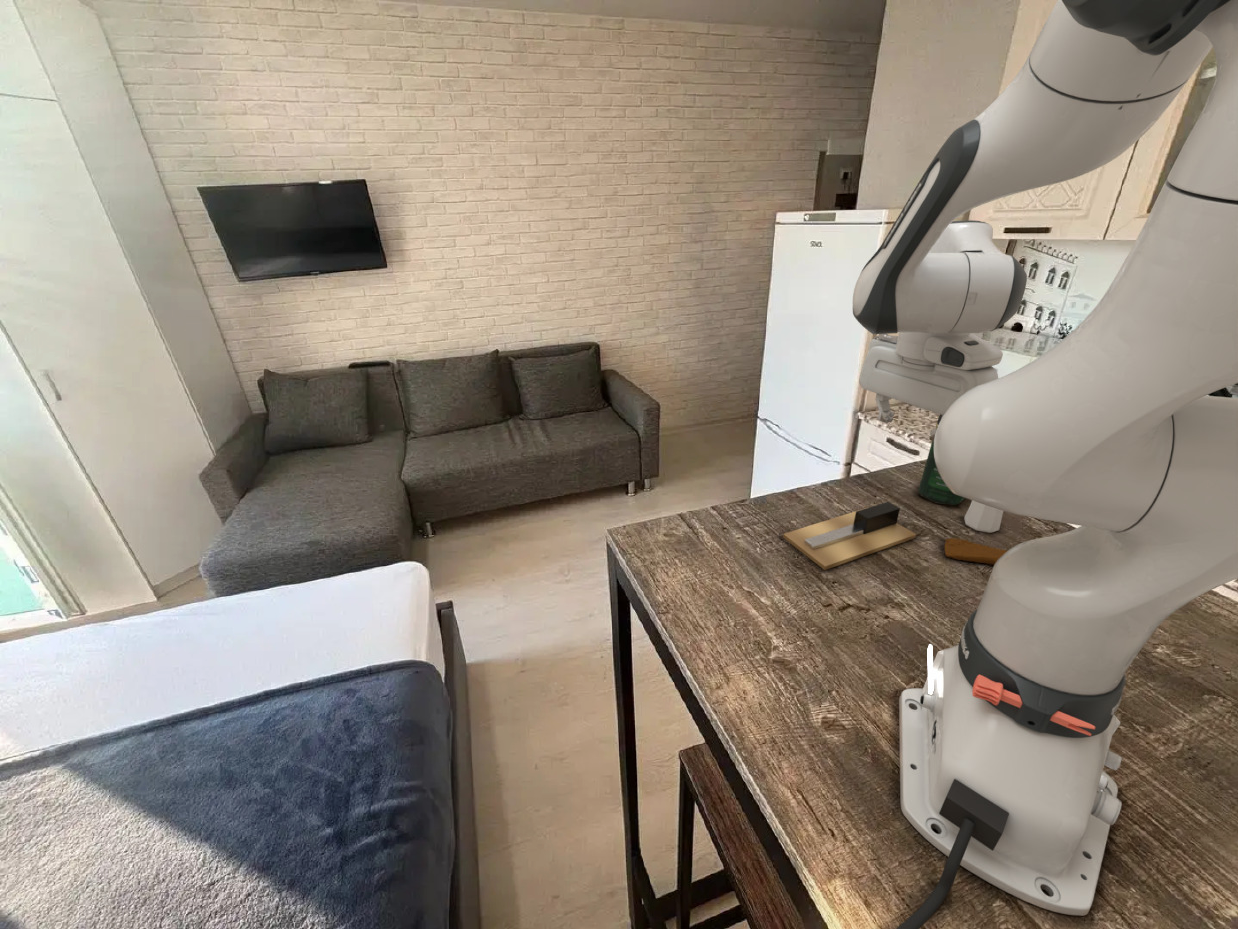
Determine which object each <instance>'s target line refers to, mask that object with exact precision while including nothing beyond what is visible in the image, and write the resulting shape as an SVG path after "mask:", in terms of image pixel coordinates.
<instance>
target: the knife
mask: <svg viewBox="0 0 1238 929" xmlns="http://www.w3.org/2000/svg"><path fill="white" fill-rule="evenodd" d="M868 507H869V508H868ZM868 507H865V508H866V509H864V508H862V509H863V510H861V509H858V510H859V511H858V510H855V511H856V514H855V519H854V524H852V525H849V526H846V527H843V528H840V529H836V530H833V531H830V532H827V533H824V534H821V535H817V536H814V537H811V538H808V539H805V540H804V544H806V545H807V546H808V547H809V548H811V549H812V550H815V549H818V548H821V547H824V546H827V545H830V544H833V543H836V542H839V541H842V540H845V539H848V538H852V537H855V536H858V535H861V534H867V533H870V532H873V531H876V530H879V529H882V528H885V527H888V526H891V525H894V524H896V523H898V519H899V515H900V511H901V508H900V507H898V506H896V505H895V504H893V503H891V502H889V501H886V502H883V503H879V504H876V505H873V506H868Z"/></svg>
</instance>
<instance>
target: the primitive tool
mask: <svg viewBox="0 0 1238 929" xmlns="http://www.w3.org/2000/svg"><path fill="white" fill-rule="evenodd" d="M1007 551H1008V550H1006V549H1002V548H997V547H992V546H988V545H984V544H981V543H975V542H971V541H969V540H967V539H959V538H954V537H953V538H952V537H951V538H946V539H945V541H944V554H945V556H946V557H947V558H951V559H953V560H959V561H965V562H966V561H967V562H972V563H980V564H981V563H982V564H987V565H993V566H994V565H995V563H996V562H997V560H998V559H999V558H1000V557H1001V556H1002V555H1003V554H1005V553H1006V552H1007Z"/></svg>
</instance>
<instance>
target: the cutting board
mask: <svg viewBox="0 0 1238 929" xmlns="http://www.w3.org/2000/svg"><path fill="white" fill-rule="evenodd" d="M869 507H870V506H868V507H865V508H862V509H858V510H855V511H852V512H848V513H846V514H843V515H839V516H836V517H832V518H830V519H826V520H823V521H819V522H816V523H814V524H810V525H807V526H804V527H801V528H797V529H795V530H791V531H787V532H784V533H783V534H782V538H783V539H784V540H785V541H787V542H788V543H789V544H791V545H792V546H793V547H794V548H796V550H798V551H799V552H800V553H802V554H803V555H804V556H806V557H807V558H808V559H809V560H811V561H812V562H814V563H815V564H816V565H817V566H818V567H820V568H821V569H822V570H824V571H826V570H829V569H832V568H834V567H837V566H840V565H843V564H846V563H849V562H852V561H855V560H857V559H860V558H863V557H865V556H868V555H871V554H874V553H878V552H880V551H883V550H885V549H889V548H892V547H894V546H897V545H900V544H902V543H905V542H908V541H911V540H913V539H916V536H917V534H916V533H915V532H913V531H911V530H909V529H908V528H906V527H904V526H902V525H901V524H899V523H898V522H897V523H896V524H894V525H891V526H888V527H885V528H882V529H879V530H876V531H873V532H870V533H867V534H861V535H858V536H855V537H852V538H848V539H845V540H842V541H839V542H836V543H833V544H830V545H827V546H824V547H821V548H818V549H815V550H812V549H811V548H809V547H808V546H807V545H806V544H804V540H805V539H808V538H811V537H814V536H817V535H821V534H824V533H827V532H830V531H833V530H836V529H840V528H843V527H846V526H849V525H852V524H854V519H855V514H856V511H859V510H863V509H866V508H869Z"/></svg>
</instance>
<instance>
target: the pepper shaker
mask: <svg viewBox="0 0 1238 929" xmlns="http://www.w3.org/2000/svg"><path fill="white" fill-rule="evenodd" d="M1003 516H1004V511H1002V510H999V509H996V508H993V507H990V506H987V505H984V504H981V503H978V502H976V501H973V500H971V502H970V505H969V507H968V509H967V511H966V513H965V515H964V517H963V520H964V523H965V525H966V526H967V527H969V528H971V529H973V530H974V531H977V532H982V533H987V534H991V533H994V532H999V531H1000V528H1001V523H1002V520H1003V519H1002V518H1003Z"/></svg>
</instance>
